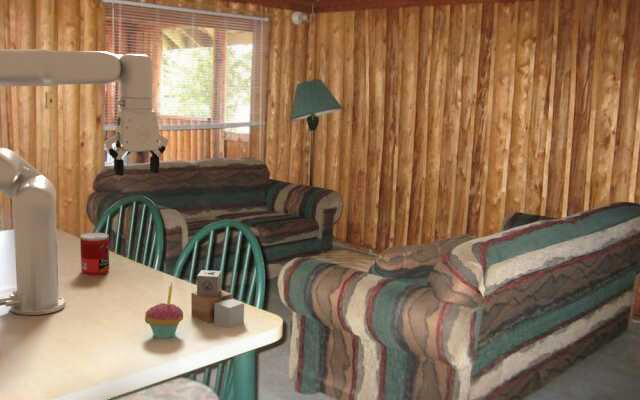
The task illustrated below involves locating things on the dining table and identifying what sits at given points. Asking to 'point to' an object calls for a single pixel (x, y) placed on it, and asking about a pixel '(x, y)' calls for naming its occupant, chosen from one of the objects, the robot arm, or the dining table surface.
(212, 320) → the walnut block
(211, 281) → the dice cube
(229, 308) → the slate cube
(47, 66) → the robot arm
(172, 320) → the cupcake
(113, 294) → the dining table surface
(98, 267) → the canned food
